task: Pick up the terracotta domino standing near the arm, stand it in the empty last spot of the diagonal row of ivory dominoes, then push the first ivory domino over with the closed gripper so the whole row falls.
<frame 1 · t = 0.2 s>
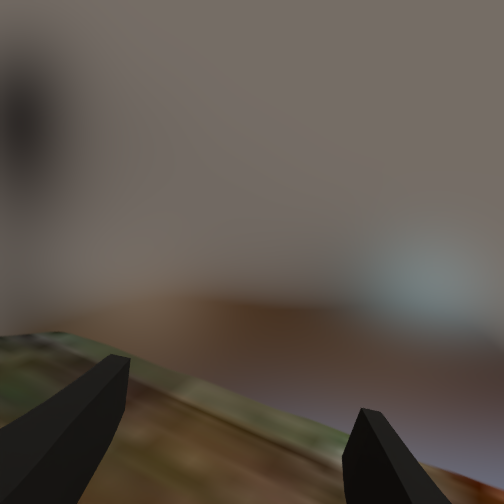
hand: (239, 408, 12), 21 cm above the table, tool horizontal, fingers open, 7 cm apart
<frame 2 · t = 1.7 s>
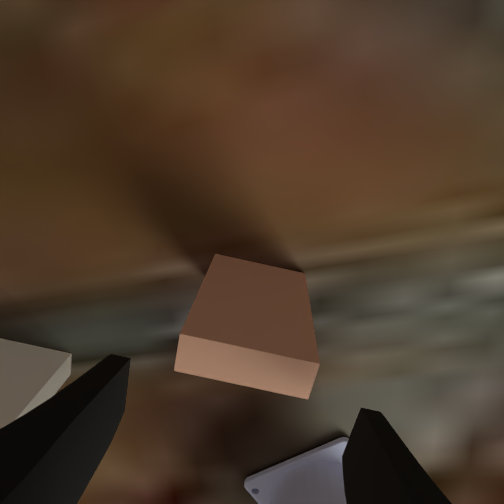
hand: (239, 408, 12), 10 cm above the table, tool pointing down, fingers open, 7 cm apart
ivory domino 4: (31, 355, 24), on the table
terracotta domino: (257, 276, 21), on the table
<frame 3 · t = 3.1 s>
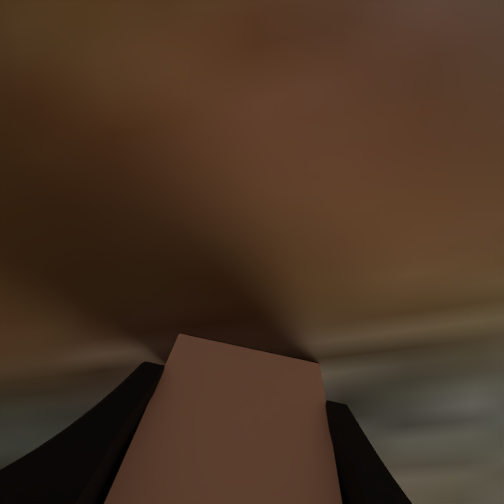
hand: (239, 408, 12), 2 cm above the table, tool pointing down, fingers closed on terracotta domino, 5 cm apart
terracotta domino: (244, 367, 14), on the table, touching gripper
when the fingers open (3 cm above the table, at t = 7.9 s): terracotta domino stays where it is, on the table.
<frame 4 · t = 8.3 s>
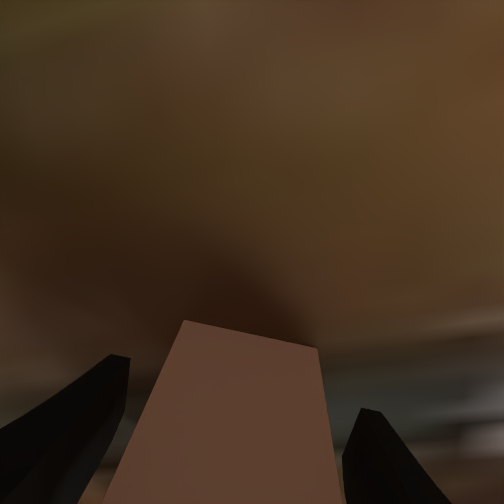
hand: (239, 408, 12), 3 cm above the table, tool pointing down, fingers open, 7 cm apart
terracotta domino: (246, 351, 14), on the table
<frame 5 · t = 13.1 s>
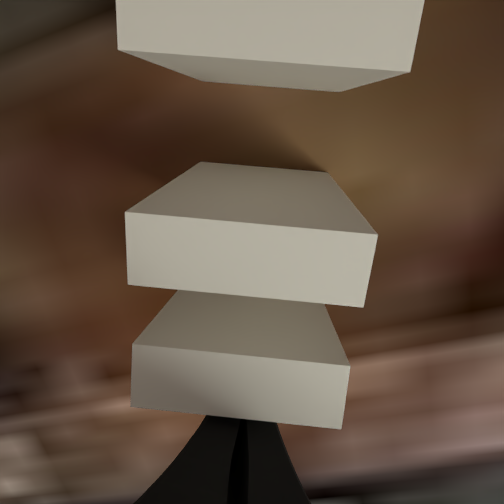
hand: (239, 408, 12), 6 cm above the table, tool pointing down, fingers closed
ivory domino 1: (253, 290, 17), on the table, tilted 10°
ivory domino 2: (262, 187, 15), on the table
ivory domino 3: (272, 62, 14), on the table
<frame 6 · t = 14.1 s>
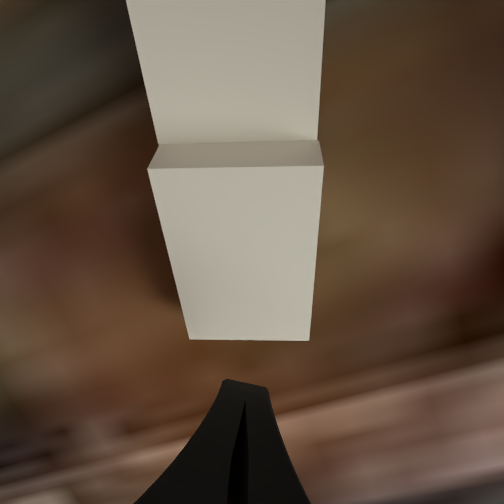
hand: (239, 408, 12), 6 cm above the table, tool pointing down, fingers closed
ivory domino 1: (249, 324, 17), point 1 cm above the table, tilted 69°, touching ivory domino 2
ivory domino 2: (245, 223, 15), point 1 cm above the table, tilted 69°, touching ivory domino 1
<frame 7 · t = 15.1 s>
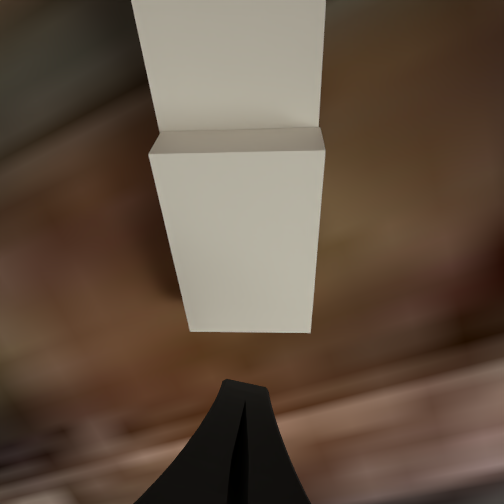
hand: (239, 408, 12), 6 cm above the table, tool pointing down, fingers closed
ivory domino 1: (250, 317, 17), point 1 cm above the table, tilted 70°, touching ivory domino 2
ivory domino 2: (246, 209, 15), point 1 cm above the table, tilted 70°, touching ivory domino 1, ivory domino 3
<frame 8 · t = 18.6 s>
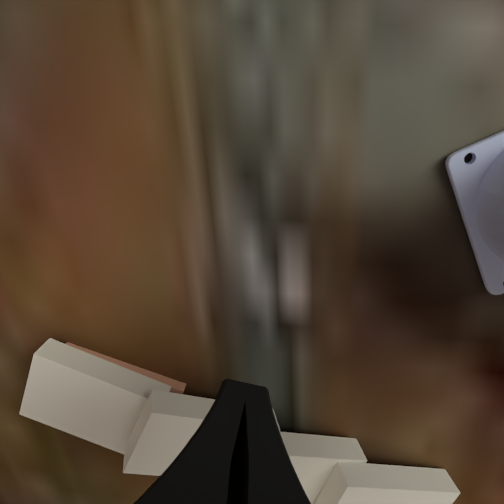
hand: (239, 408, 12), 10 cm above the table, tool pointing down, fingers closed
ivory domino 4: (155, 423, 24), point 1 cm above the table, tilted 90°, touching ivory domino 3, terracotta domino
ivory domino 2: (344, 475, 25), point 1 cm above the table, tilted 73°, touching ivory domino 1, ivory domino 3
ivory domino 3: (259, 445, 25), point 1 cm above the table, tilted 71°, touching ivory domino 2, ivory domino 4
terracotta domino: (176, 410, 26), on the table, tilted 90°, touching ivory domino 4
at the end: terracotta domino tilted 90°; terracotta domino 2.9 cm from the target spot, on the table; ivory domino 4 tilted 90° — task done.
